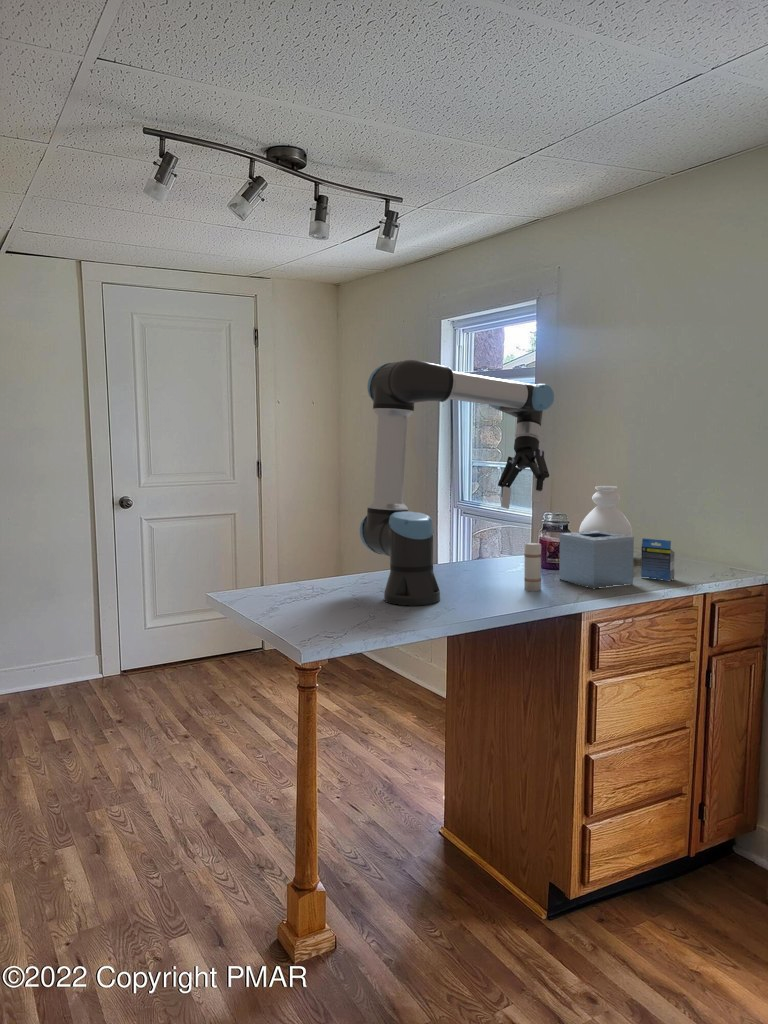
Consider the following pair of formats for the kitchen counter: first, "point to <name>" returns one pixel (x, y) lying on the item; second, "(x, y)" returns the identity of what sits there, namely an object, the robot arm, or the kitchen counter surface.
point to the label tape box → (657, 559)
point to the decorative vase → (606, 513)
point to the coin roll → (532, 566)
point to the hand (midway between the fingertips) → (519, 504)
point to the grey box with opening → (596, 558)
